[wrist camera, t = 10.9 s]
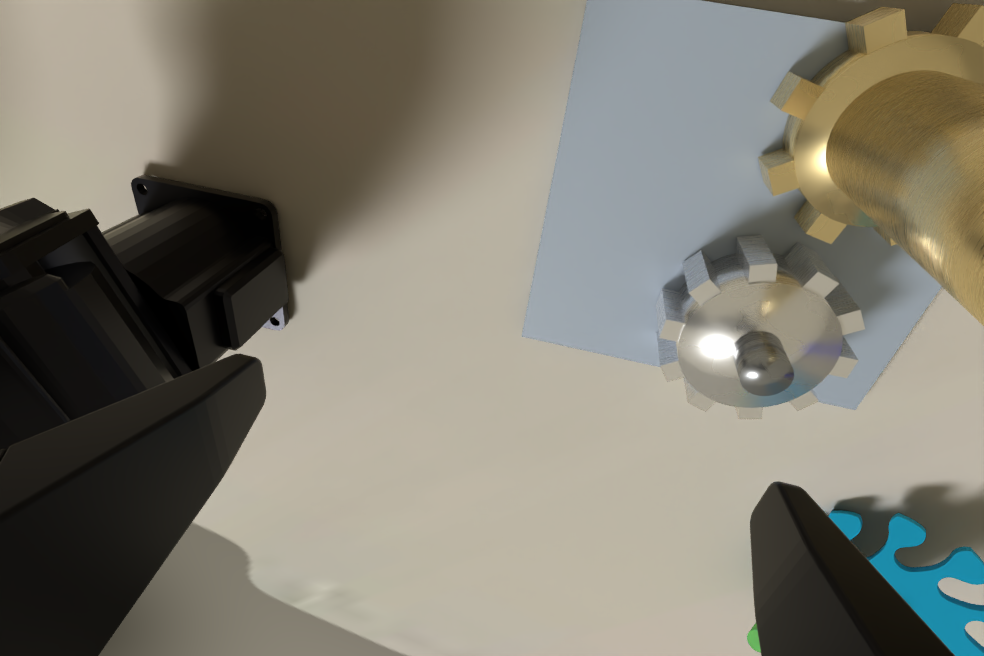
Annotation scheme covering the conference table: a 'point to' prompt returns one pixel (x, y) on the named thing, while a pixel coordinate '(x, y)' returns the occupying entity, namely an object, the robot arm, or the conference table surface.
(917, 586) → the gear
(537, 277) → the carrier plate
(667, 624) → the conference table surface
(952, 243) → the gear
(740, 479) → the conference table surface
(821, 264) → the sun gear
